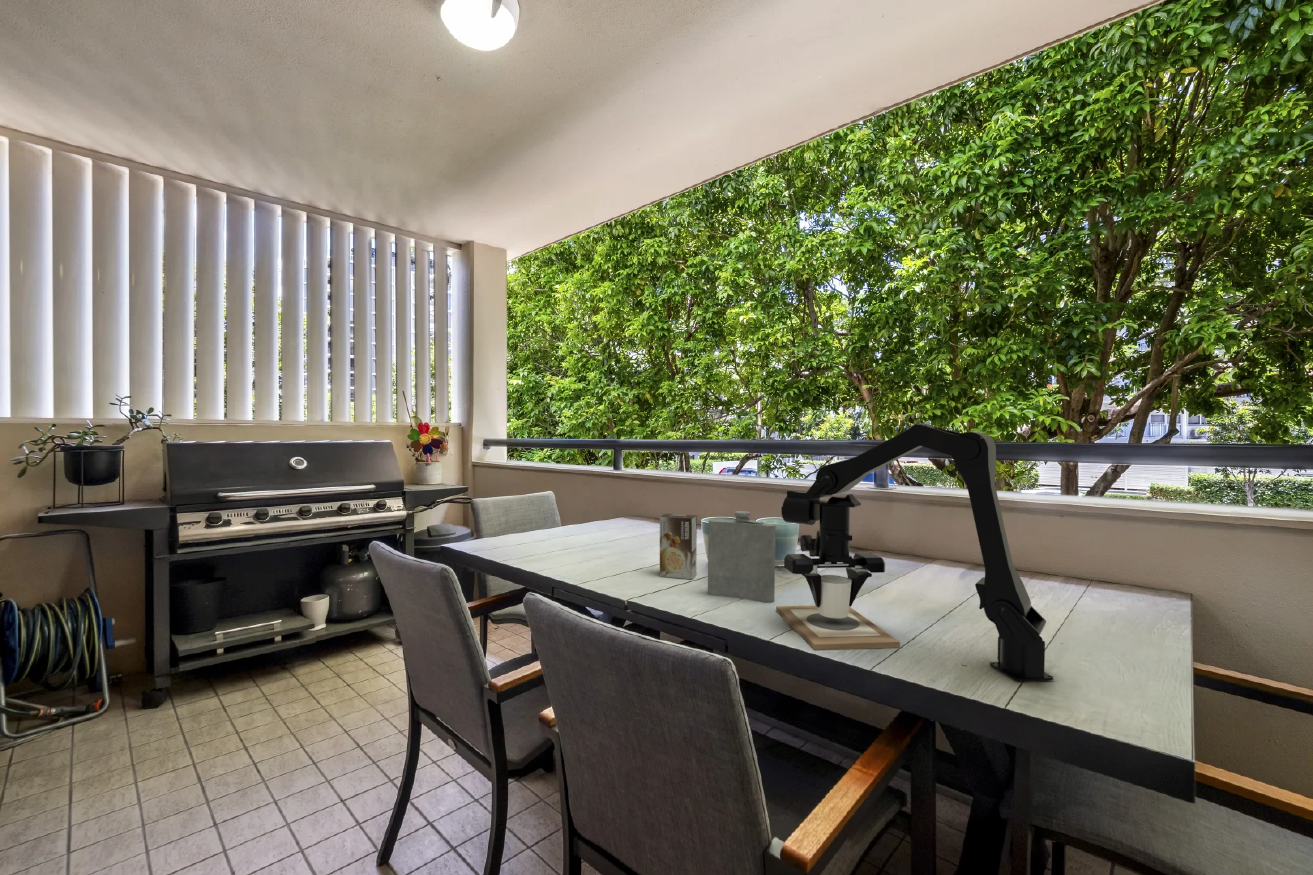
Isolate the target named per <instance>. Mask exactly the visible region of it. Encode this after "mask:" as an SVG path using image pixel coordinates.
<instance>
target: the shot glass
mask: <svg viewBox="0 0 1313 875" xmlns="http://www.w3.org/2000/svg"><path fill="white" fill-rule="evenodd" d="M820 575H821V574H820ZM851 583H852V580H851V579H849V578H848V577H846V576H841V575H835V574H824V575H823V574H822V575H821V602H820V607H818V612H819V614H820V615H822V616H825V617H829V618H845V617H848V611H849V602H850V592H851Z"/></svg>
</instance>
